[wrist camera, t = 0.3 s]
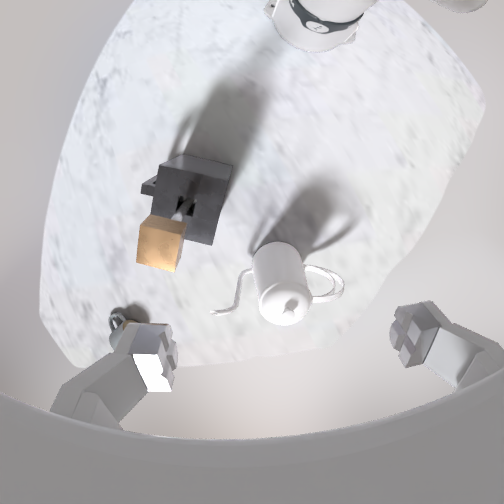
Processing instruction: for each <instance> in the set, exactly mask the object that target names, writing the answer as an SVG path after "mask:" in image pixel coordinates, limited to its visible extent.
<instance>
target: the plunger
mask: <svg viewBox="0 0 504 504" xmlns="http://www.w3.org/2000/svg"><path fill="white" fill-rule="evenodd" d="M195 204H196V199H191V198H187V197H183V196H180V199H179V204H178V209H177V212H176V213H175V214H174V216H173V217H172V218H171V219H168V218H164V217H160V216H155V215H151V214H150V215H149V216H148V217H147V218H146V219H145V220H144V221H143V223H142V224H141V225H140V230H139V239H138V248H137V259H136V262H137V263H140V264H144V265H148V266H152V267H156V268H159V269H163V270H167V271H171V272H175V269H176V267H177V265H178V262H179V260H180V258H181V253H182V247H183V242H184V237H185V232H186V227H187V223H185V222H181V221H182V219H183V218H184V216H185V214H186V213H191V214H193V213H194V208H195Z"/></svg>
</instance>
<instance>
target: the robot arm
mask: <svg viewBox="0 0 504 504" xmlns="http://www.w3.org/2000/svg"><path fill="white" fill-rule="evenodd" d="M377 1H378V0H270V1H269V2H268V3H267V5H266V6H265V8H264V13H265V14H266V15H267V16H268V17H269V18H270V19H271V20H272V21H273V23H274V25H275V27H276V29H277V31H278V33H279V34H280V36H281V37H282V38H283V39H284V40H285V41H286V42H288V43H289V44H290V45H292V46H294V47H296V48H298V49H301V50H304V51H308V52H326V51H329V50H332V49H334V48H335V47H337V46H339V45H341V44H349V43H352V42H353V41H354V40H355V31H356V30H357V29H358V28H359V25H358V21H359V20H360V19H361V17H362V16H363V14H364V12H365V11H366V10H368V9H369V8H370V7H372V6H373V5H374V4H375V3H376V2H377ZM430 1H433V2H434V3H436V4H439V5H441V6H443V7H445V8H447V9H449V10H451V11H453V12H456V13H468V12H472V11H476V10H478V9H479V8H481V7H482V6H484V5H485V4H486V2H487V1H488V0H430ZM272 5H273V6H275V7H271V6H272ZM394 316H395V318H396V320H395V321H394V323H393V324H392V325H391V328H390V341H391V344H392V346H393V348H394V349H396V350H398V351H399V358H400V360H401V361H402V363H403V365H404V366H405V368H408V367H411V366H416V365H420V364H423V365H424V366H425V367H427V368H428V369H430V370H431V371H432V372H434V373H435V374H436V375H438V376H439V377H441V378H442V379H443V380H445V381H446V382H448V383H449V384H450V385H451V386H453V387H454V388H455V390H454V391H453V393H452V394H450V395H448V396H445V397H443V398H440V399H437V400H435V401H433V402H430V403H427V404H425V405H422V406H419V407H416V408H413V409H410V410H407V411H404V412H401V413H398V414H394V415H391V416H388V417H384V418H381V419H377V420H373V421H369V422H366V423H361V424H357V425H353V426H348V427H343V428H338V429H333V430H327V431H322V432H315V433H308V434H300V435H293V436H283V437H271V438H256V439H194V438H179V437H167V436H158V435H150V434H142V433H135V432H130V431H124V430H123V428H122V427H121V426H120V425H119V422H120V421H121V420H122V419H123V418H124V417H125V416H126V415H127V414H128V413H129V412H130V411H131V410H132V408H133V407H134V406H135V405H136V404H137V403H138V402H139V401H140V400H141V399H142V398H143V397H144V396H145V395H146V394H147V393H148V391H169V392H171V390H172V385H173V381H174V375H173V372H172V371H173V370H174V369H175V368H176V367H177V362H178V352H177V346H176V342H174V341H173V340H172V339H171V338H172V334H173V332H172V329H171V326H170V325H169V324H156V323H129V324H127V326H126V328H125V330H124V332H123V334H122V336H121V338H120V340H119V342H118V344H117V346H116V348H115V350H114V353H109V354H107V355H106V356H104V357H103V358H101V359H100V360H98V361H97V362H95V363H94V364H93V365H91V366H90V367H88V368H87V369H85V370H84V371H82V372H81V373H79V374H78V375H77V376H75V377H74V378H72V379H71V380H69V381H68V382H66V383H65V384H63V385H62V387H61V389H60V391H59V393H58V394H57V396H56V399H55V401H54V403H53V405H52V407H51V409H50V411H47V410H43V409H41V408H38V407H35V406H32V405H30V404H27V403H25V402H22V401H20V400H18V399H15V398H13V397H11V396H8V395H6V394H4V393H2V392H0V504H504V350H503V348H502V347H501V346H500V345H499V344H498V343H497V342H494V341H492V340H490V339H488V338H486V337H484V336H482V335H480V334H477V333H475V332H473V331H471V330H469V329H467V328H464V327H462V326H460V325H457V324H455V323H453V324H452V323H451V322H450V321H449V320H448V318H447V317H446V316H445V315H444V314H443V313H442V312H441V310H439V308H438V307H437V306H436V305H435V304H434V303H433V302H432V301H424V302H419V303H416V304H410V305H404V306H399V307H398V308H397V309H396V311H395V314H394Z"/></svg>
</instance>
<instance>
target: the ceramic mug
mask: <svg viewBox="0 0 504 504" xmlns="http://www.w3.org/2000/svg"><path fill="white" fill-rule="evenodd" d="M114 316H118V317H119V318H120V319H121V320H122V322H123V323H122V324H121V325H120V326H119V327H117V328H116V329H115V327H114V325H113V321H112V319H113V317H114ZM129 323H137V322H136V321H133V320H126V319H125V317H124V316H123V315H122V314H120V313H114V314H112V315H111V316H110V317H109V326H110V328H111V330H112V333H111V334H110V337H109V341H110V344H111V347H112V348H113V350H115V348H116V346H117V344H118V342H119V340H120V338H121V336H122V334H123V332H124V330H125V328H126V326H127V324H129Z"/></svg>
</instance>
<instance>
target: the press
mask: <svg viewBox="0 0 504 504" xmlns="http://www.w3.org/2000/svg"><path fill="white" fill-rule="evenodd" d="M231 170H232V165H228V164H224V163H220V162H216V161H212V160H208V159H203V158H199V157H195V156H190V155H185V154H182V155H180V156H177V157H175V158H173V159H171V160H169V161H167V162H164V163H162V164H160V165H159V169H158V174H157V175H156V176H154V177H153V178H151V179H149V180H148V181H146V182H144V183H143V184H142V187H141V194H145V195H150V196H153V202H152V208H151V215H155V216H160V217H164V218H168V219H171V218H172V217H173V216H174V214H175V213H176V212H177V209H178V204H179V199H180V196H183V197H187V198H191V199H196V204H195V208H194V213H193V214H191V213H186V214H185V216H184V218H183V219H182V221H181V222H185V223H187V227H186V232H185V237H184V239H186V240H190V241H194V242H199V243H203V244H207V245H211V246H212V244H213V239H214V235H215V231H216V227H217V223H218V219H219V216H220V212H221V208H222V204H223V200H224V196H225V193H226V189H227V185H228V181H229V178H230V174H231Z"/></svg>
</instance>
